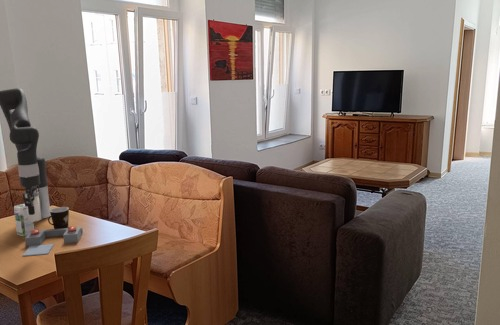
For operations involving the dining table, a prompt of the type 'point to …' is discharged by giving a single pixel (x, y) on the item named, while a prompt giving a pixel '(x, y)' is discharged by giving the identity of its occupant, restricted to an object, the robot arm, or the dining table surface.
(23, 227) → the syrup box
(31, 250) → the mat
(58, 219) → the coffee mug
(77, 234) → the housing
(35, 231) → the left plunger
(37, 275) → the dining table surface
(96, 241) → the dining table surface
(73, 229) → the right plunger
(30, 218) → the cylinder
